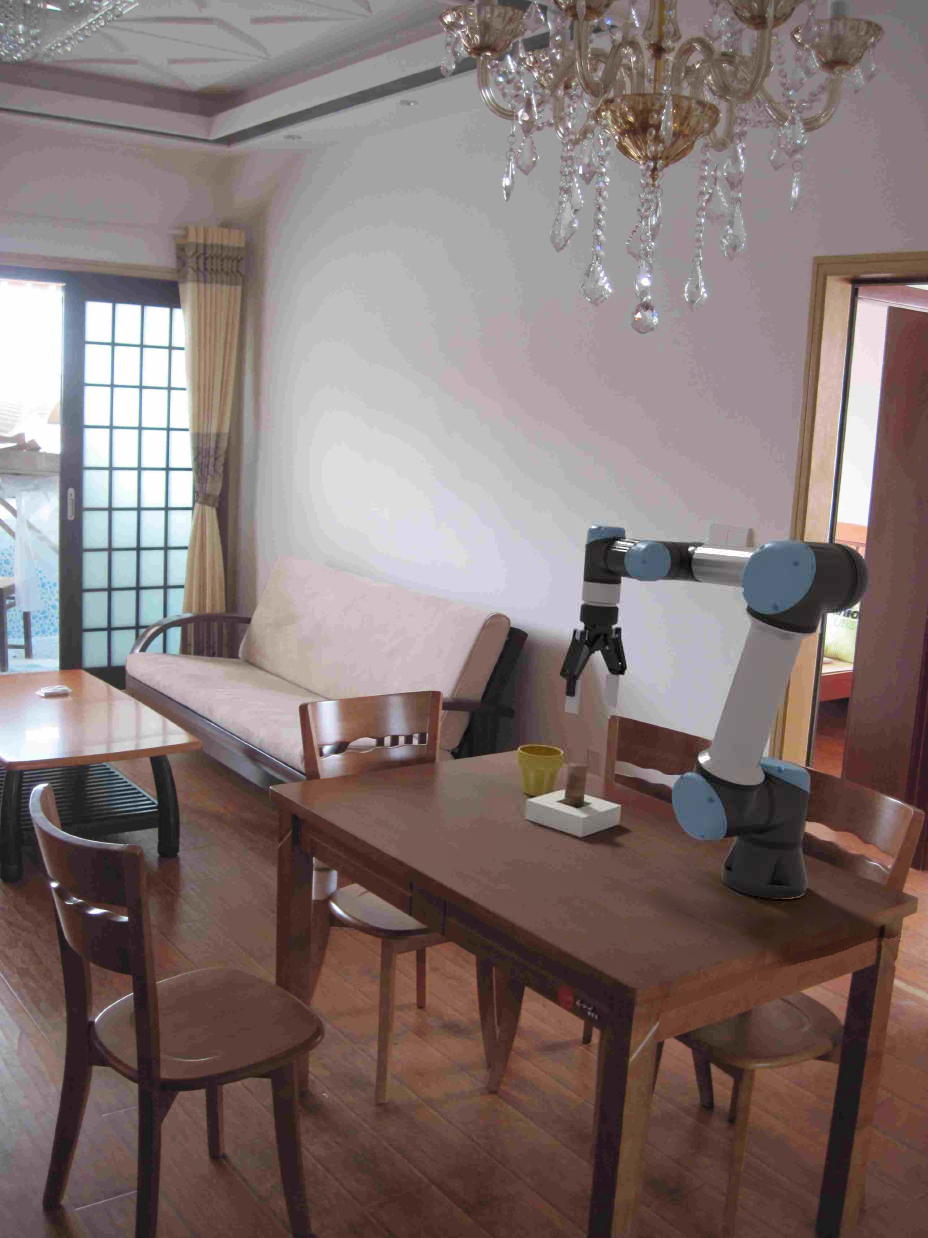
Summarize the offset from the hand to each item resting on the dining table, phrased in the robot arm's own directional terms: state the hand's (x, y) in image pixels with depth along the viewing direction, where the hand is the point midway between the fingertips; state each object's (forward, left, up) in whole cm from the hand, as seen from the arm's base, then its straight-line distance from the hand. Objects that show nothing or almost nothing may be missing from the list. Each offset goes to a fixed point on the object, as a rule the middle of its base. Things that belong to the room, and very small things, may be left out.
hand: (591, 709), depth 230 cm
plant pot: (+20, -13, -25) cm, 34 cm away
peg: (+3, -2, -25) cm, 25 cm away
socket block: (+3, -2, -25) cm, 25 cm away
